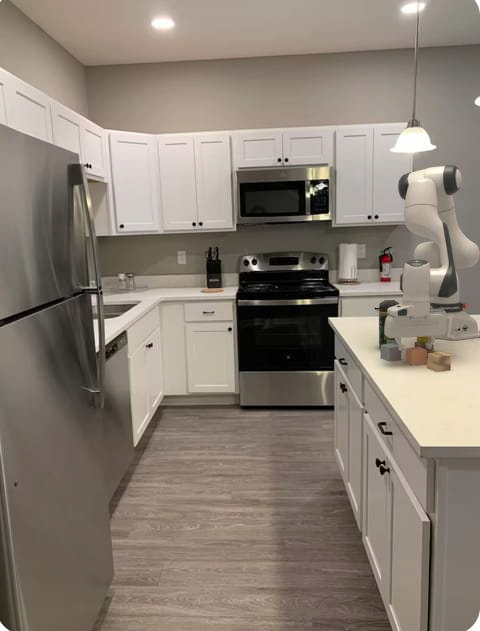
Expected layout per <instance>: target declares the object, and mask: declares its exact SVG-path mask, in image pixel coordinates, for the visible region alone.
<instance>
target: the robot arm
mask: <svg viewBox="0 0 480 631" xmlns="http://www.w3.org/2000/svg"><path fill="white" fill-rule="evenodd" d="M462 179H463V177H462V173H461V171H460V168H458V166H456V165H455V164H446V165H442V166H431V167H427V168H425V169H419V170H416V171H412V172H406V173H404V174H402V176H400V178H399V179H398V182H397V183H398V184H397V186H398V187H397V190H398V194H399V196H400V198H401V199H402V200H403V201H404V209H403V210H404V212H403V217H404V218H403V220H404V224H405V227H406V228H407V229H408V231H410V232H411V233H412V234H415V235H417V236H419V237H423V238H426V239H428V240H430V241H425V242H422V243H419V244H418V245H417V246H416V247H415V249H414V252H413V253H414V254H413V258H414V259H411V260H407V261H406V262H405V263H404V265H403V266H404V268H403V272H402V273H401V274H400V276H399V290H400V291H401V292H402V294H403V295H402V297H401V303H400V302H399V303H400V304H398V305H395V306H393V307H390V308H388V310H387V312H388V314H390V315H388V316H387V318H386V320H385V327H384V334H385V335H386V336H387V337H388V338H395V341H396V342H397V344H398V350H399V351H405V345H404V344H402V338H403V339H405V338H417V337H424V336H429V338H430V339H429V341H428V343H425V348H426V349H432V344H433V343H434V342H435V340H436V339H440V340H441V339H443V340H450V341H458V340H468V339H474V338H475V339H476V338H480V330H479V326H478V322H477V320H476V319H475V318H473V317H472V315H471V316H470V314H468V313H467V312H465V311H464V309H468V308H469V304H468V303H466V302H461V301H460V289H461V288H460V280H459V276H458V273H457V269H459V270H461V269H466V268H473V267H474V266H475V265H476V264H477V263H478V261H479V259H480V248H479V246H478V244H476V243H475V242H473V241H472V240H470V239H469V238H468V237H466V235H465V234H464V233H463V231H462V230H461V228H460V226H459V224H458V220H457V215H456V208H455V201H454V196H453V195H454V194H457V192H459V190H460V188H461V185H462V182H463V181H462ZM400 341H401V343H400ZM433 345H434V344H433Z"/></svg>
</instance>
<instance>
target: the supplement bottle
mask: <svg viewBox="0 0 480 631" xmlns="http://www.w3.org/2000/svg"><path fill="white" fill-rule="evenodd" d="M429 339H430V338H429V336H424V337H416V342H428V341H429Z"/></svg>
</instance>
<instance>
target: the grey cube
mask: <svg viewBox="0 0 480 631" xmlns="http://www.w3.org/2000/svg"><path fill="white" fill-rule="evenodd" d="M402 351H403V350H402ZM402 351H399V350H398V345H396V344H393V343H391V344H384V345H381V349H380V359H381V360H383V361H386V362H396V361H402Z"/></svg>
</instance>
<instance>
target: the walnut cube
mask: <svg viewBox="0 0 480 631" xmlns="http://www.w3.org/2000/svg"><path fill="white" fill-rule="evenodd" d="M425 343H428V342H417V341H414V347H421V348H423V349H425V350H427V359H428V353H434V352H435V351H434V350H435V348H434V347H435V345H434V344H432V349H426V348H425Z"/></svg>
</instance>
